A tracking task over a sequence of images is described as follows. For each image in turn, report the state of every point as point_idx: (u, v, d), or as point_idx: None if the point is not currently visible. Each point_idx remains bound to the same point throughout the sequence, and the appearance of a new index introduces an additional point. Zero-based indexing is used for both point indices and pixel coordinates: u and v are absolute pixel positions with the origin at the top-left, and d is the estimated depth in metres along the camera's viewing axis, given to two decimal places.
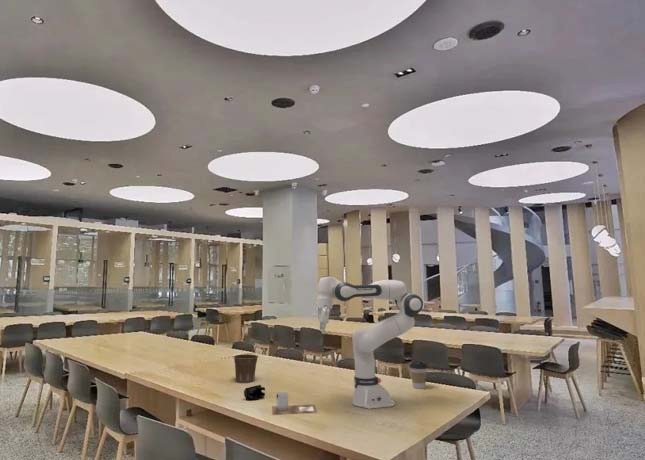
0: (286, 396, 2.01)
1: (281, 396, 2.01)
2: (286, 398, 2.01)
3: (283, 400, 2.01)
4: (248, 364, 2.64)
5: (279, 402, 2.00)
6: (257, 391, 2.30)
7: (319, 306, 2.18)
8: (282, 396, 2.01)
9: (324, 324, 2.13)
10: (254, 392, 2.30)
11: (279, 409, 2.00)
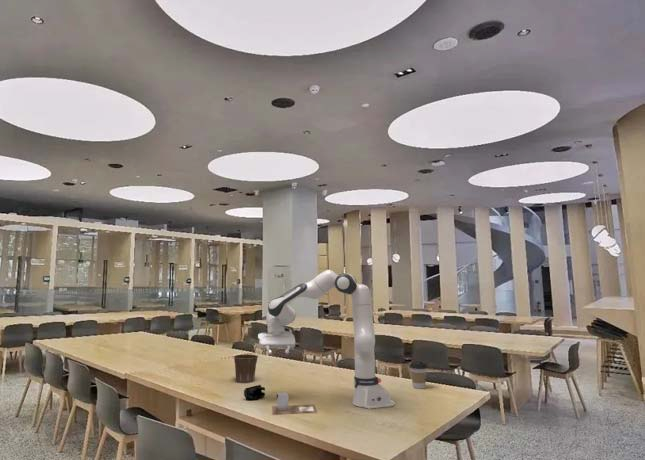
0: (286, 396, 2.01)
1: (281, 396, 2.01)
2: (286, 398, 2.01)
3: (283, 400, 2.01)
4: (248, 364, 2.64)
5: (279, 402, 2.00)
6: (257, 391, 2.30)
7: None
8: (282, 396, 2.01)
9: (266, 347, 2.18)
10: (254, 392, 2.30)
11: (279, 409, 2.00)
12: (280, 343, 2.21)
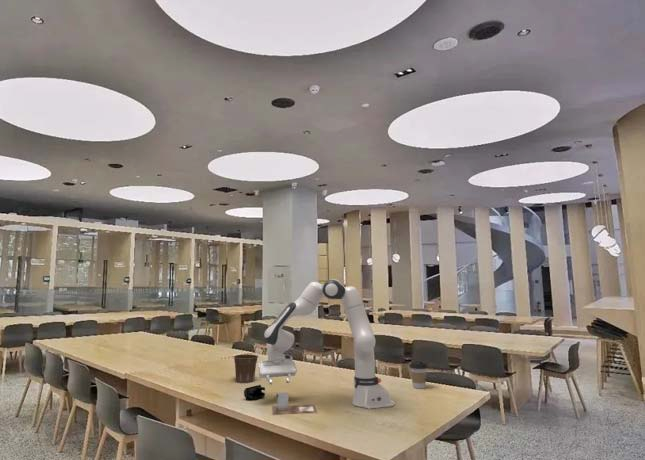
0: (286, 396, 2.01)
1: (281, 396, 2.01)
2: (286, 398, 2.01)
3: (283, 400, 2.01)
4: (248, 364, 2.64)
5: (279, 402, 2.00)
6: (257, 391, 2.30)
7: None
8: (282, 396, 2.01)
9: (266, 377, 2.12)
10: (254, 392, 2.30)
11: (279, 409, 2.00)
12: (281, 372, 2.15)
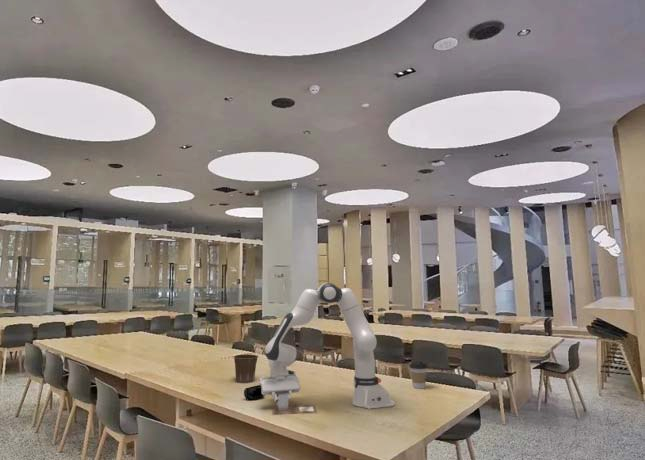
0: (286, 396, 2.01)
1: (281, 396, 2.01)
2: (286, 398, 2.01)
3: (283, 400, 2.01)
4: (248, 364, 2.64)
5: (279, 402, 2.00)
6: (257, 391, 2.30)
7: None
8: (282, 396, 2.01)
9: (271, 394, 2.04)
10: (254, 392, 2.30)
11: (279, 409, 2.00)
12: (284, 388, 2.06)
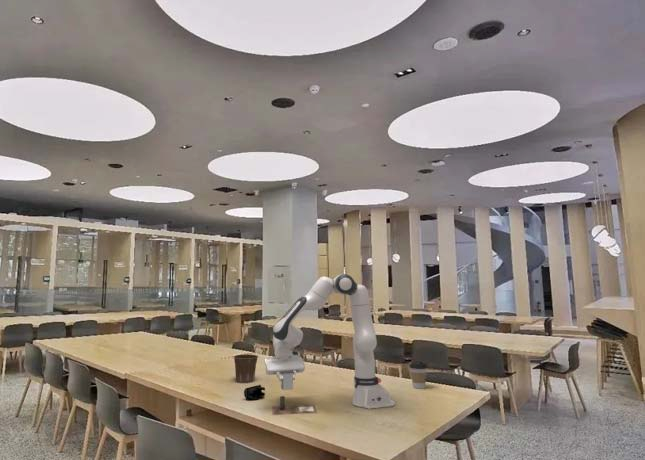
0: (291, 375, 2.03)
1: (286, 375, 2.02)
2: (291, 377, 2.03)
3: (288, 379, 2.02)
4: (248, 364, 2.64)
5: (284, 381, 2.01)
6: (257, 391, 2.30)
7: None
8: (287, 375, 2.02)
9: (276, 373, 2.05)
10: (254, 392, 2.30)
11: (284, 388, 2.01)
12: (288, 368, 2.07)
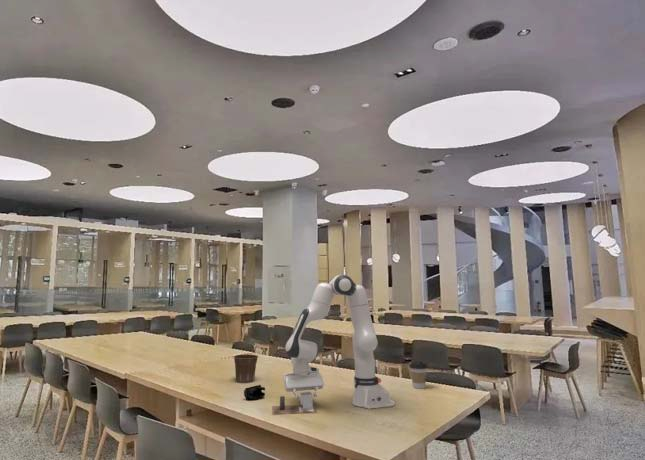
0: (310, 396, 2.01)
1: (305, 396, 2.00)
2: (310, 398, 2.01)
3: (307, 400, 2.00)
4: (248, 364, 2.64)
5: (303, 402, 2.00)
6: (257, 391, 2.30)
7: None
8: (306, 396, 2.00)
9: (292, 390, 2.03)
10: (254, 392, 2.30)
11: (303, 409, 1.99)
12: (307, 385, 2.06)
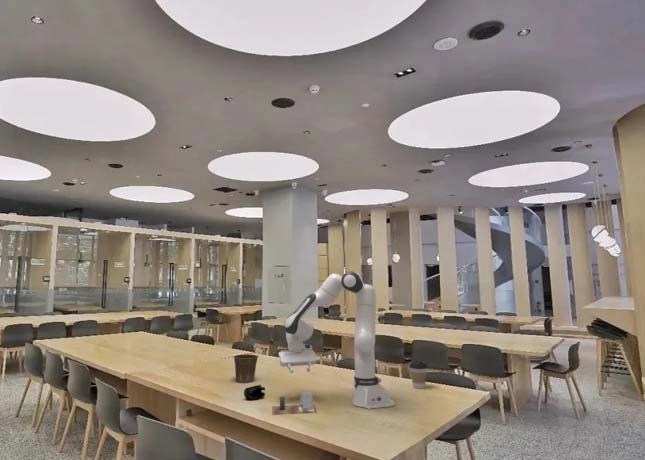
0: (310, 396, 2.01)
1: (305, 396, 2.00)
2: (310, 398, 2.01)
3: (307, 400, 2.00)
4: (248, 364, 2.64)
5: (303, 402, 2.00)
6: (257, 391, 2.30)
7: None
8: (306, 396, 2.00)
9: (287, 365, 2.17)
10: (254, 392, 2.30)
11: (303, 409, 1.99)
12: (301, 360, 2.19)
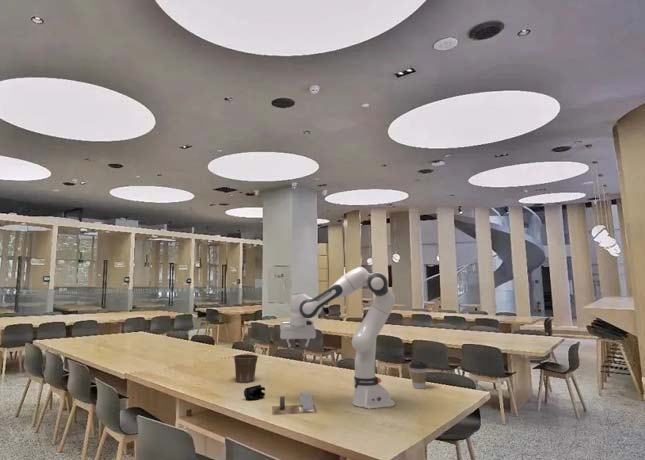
0: (310, 396, 2.01)
1: (305, 396, 2.00)
2: (310, 398, 2.01)
3: (307, 400, 2.00)
4: (248, 364, 2.64)
5: (303, 402, 2.00)
6: (257, 391, 2.30)
7: None
8: (306, 396, 2.00)
9: (286, 340, 2.25)
10: (254, 392, 2.30)
11: (303, 409, 1.99)
12: (300, 337, 2.25)
